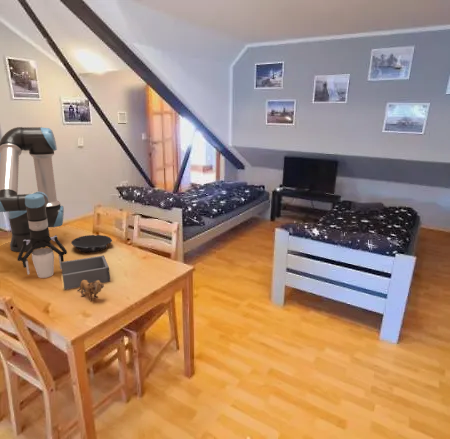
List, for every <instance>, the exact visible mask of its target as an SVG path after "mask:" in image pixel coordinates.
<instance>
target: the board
mask: <svg viewBox="0 0 450 439" xmlns="http://www.w3.org/2000/svg"><path fill="white" fill-rule="evenodd" d="M112 242H113V239H112V238H111V237H110V236H107V235H102V234H96V235H95V234H89V235H82V236H79V237H76V238H74V239H73V240H71V244H72V246H73V247H74V248H76V249H77V250H79V252H81V253H92V254H93V253H98V252H101V251H103V250H105V249H106V248H107V246H108V245H109V244H111V243H112Z"/></svg>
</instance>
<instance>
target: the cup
mask: <svg viewBox="0 0 450 439" xmlns="http://www.w3.org/2000/svg"><path fill="white" fill-rule="evenodd" d="M31 260H32V263H33V267H34V270H35V272H36V274H37V278H39V279H48V278H50V277H52V276H54V273H55V272H54V271H55V270H54V269H55V267H54V265H55V252H54V251H53V250H52V249H51V248H49V247H45V248H37V249H34V250H33V252H32V253H31Z"/></svg>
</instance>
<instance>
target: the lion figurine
mask: <svg viewBox="0 0 450 439" xmlns="http://www.w3.org/2000/svg"><path fill="white" fill-rule="evenodd" d="M104 285H105V283H101V282H100V281H99V280H97V281H94V282H92V283H88V281H87V280H82V281H81V284H80V286H81V287H79V289H77V292H79V291H80V293H81V294H80V297H81V298H82V297H85V294H84V292H85V293H88V294H89V298H90V299H89V301H90V302H93V301H94V298H95V299H98V294H99V293H101V291H102V289H103V288H104Z"/></svg>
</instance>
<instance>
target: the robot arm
mask: <svg viewBox="0 0 450 439" xmlns="http://www.w3.org/2000/svg"><path fill="white" fill-rule="evenodd" d="M57 150H58V147H57V141H56V138H55V134H54V132H53V130H52V129H51V128H50V127H42V126H41V127H33V126H32V127H28V126H27V127H23V126H20V127H19V126H17V127H14V128H12V129H10V130H8V131H7V132H5V134H4V135H3V136H2V137H1V139H0V213H6V212H7V213H8V220H9V225H10V231H11V239H10V243H9V248H10V250H11V251H13V252H16V253H17V252H18V256H17V259H16V260H17V262H22V266H23V268H24V269H25V268H26V273H27V275H30V265H29V259H28V258H29V256H31V255H32V252H33V251H34V250H37V249H40V248H51V249H52V250H53V252H54V253H56V254H57V255H58V260H59V268H60V270H62V267H61V262H65V261H64V255H67V254H68V251H67V249H66V248H65V247H64V245H63V243H62V242H61V241H60V240H59V239H58V235H57V234H56V235H54V236H50V230H49V228H57V227H62V225H63V224H64V212H65V210H64V206H63V205H61V202H60V201H58V200H57V199H58V198H57V189H56V181H55V174H54V166H53V156H54V155H55V151H57ZM22 151H28V153H29V156H31V157H32V158H33V166H34V172H35V179H36V186H37V191H36V192H33V193H26V194H25V193H24V194H23V193H22V194H20V193H19V194H18V191H19V190H18V188H19V168H20V167H19V164H20V156H21V155H22V153H23V152H22ZM51 241H53V242H55V244H56V246H58V247H59V248H58V247H56V246H55V245H54V244H52V242H51ZM24 252H26V253H25V254H24Z"/></svg>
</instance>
